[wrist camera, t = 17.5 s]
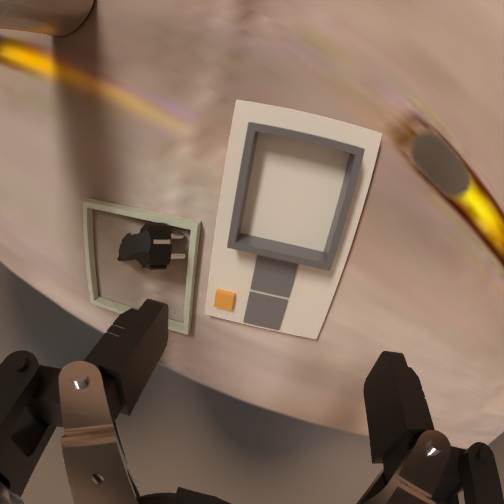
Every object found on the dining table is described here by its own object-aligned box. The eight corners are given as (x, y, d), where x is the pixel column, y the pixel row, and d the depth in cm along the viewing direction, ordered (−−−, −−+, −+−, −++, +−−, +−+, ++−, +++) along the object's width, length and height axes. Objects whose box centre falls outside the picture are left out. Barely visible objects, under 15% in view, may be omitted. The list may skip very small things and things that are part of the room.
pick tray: (88, 198, 38) (82, 201, 37) (201, 221, 37) (197, 225, 36) (95, 298, 46) (90, 303, 44) (190, 329, 45) (187, 335, 43)
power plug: (113, 239, 41) (130, 215, 31) (160, 240, 45) (191, 218, 36) (115, 278, 40) (132, 266, 30) (163, 276, 44) (195, 264, 35)
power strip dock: (238, 100, 30) (230, 97, 26) (378, 132, 30) (390, 134, 25) (207, 308, 42) (198, 327, 38) (316, 332, 42) (317, 353, 37)
